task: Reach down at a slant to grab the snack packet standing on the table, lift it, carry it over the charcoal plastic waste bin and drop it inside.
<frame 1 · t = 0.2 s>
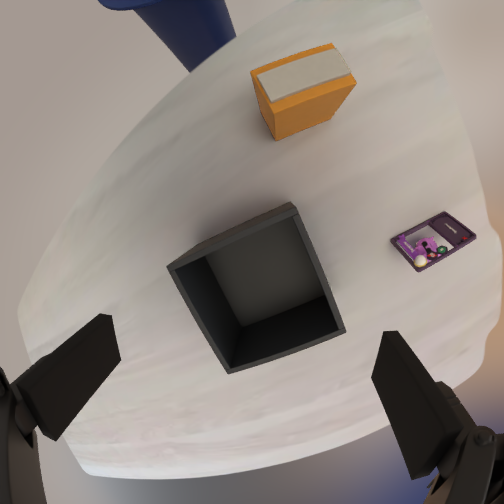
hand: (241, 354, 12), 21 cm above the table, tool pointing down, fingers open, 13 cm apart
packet: (295, 114, 29), on the table
bin: (264, 270, 33), on the table
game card: (423, 241, 31), on the table
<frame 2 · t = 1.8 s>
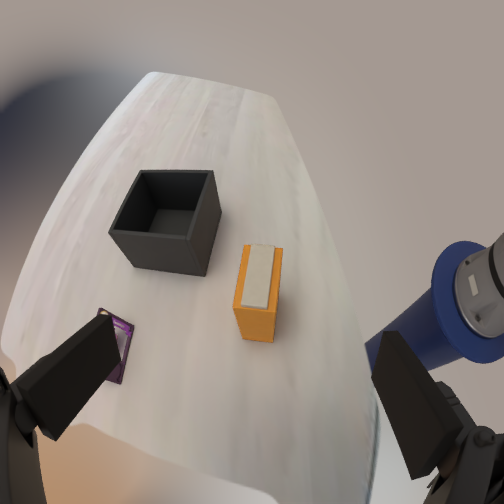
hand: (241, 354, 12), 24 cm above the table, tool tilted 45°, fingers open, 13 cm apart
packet: (261, 316, 37), on the table
bin: (178, 238, 45), on the table
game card: (114, 351, 35), on the table
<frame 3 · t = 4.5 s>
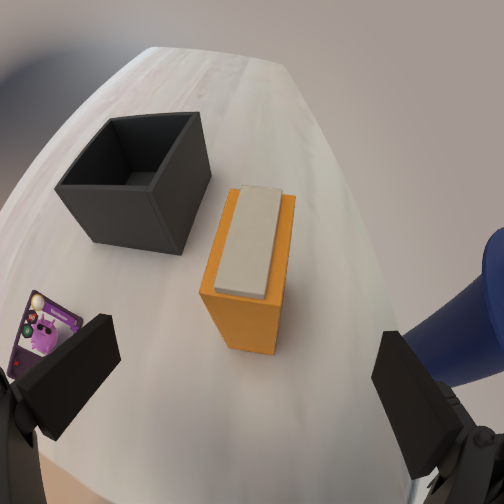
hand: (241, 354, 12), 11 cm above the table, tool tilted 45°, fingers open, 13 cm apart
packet: (257, 314, 25), on the table
bin: (151, 206, 33), on the table
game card: (58, 352, 23), on the table
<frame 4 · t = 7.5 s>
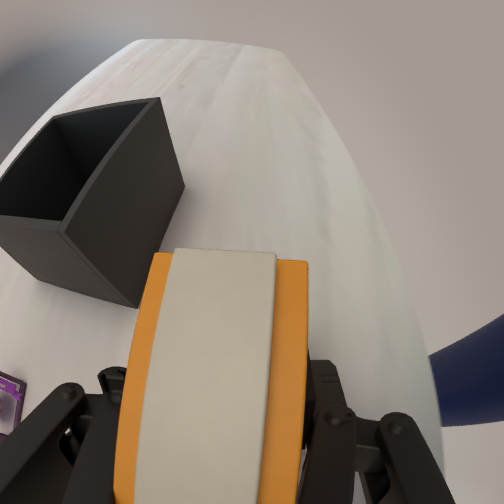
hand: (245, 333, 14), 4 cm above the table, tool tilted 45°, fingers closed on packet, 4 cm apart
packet: (243, 405, 15), on the table, touching gripper
bin: (105, 232, 23), on the table
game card: (6, 416, 13), on the table
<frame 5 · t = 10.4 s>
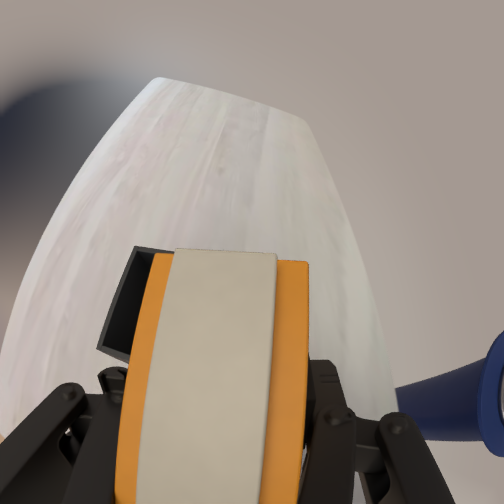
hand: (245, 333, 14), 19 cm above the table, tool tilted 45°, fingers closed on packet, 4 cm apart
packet: (243, 406, 15), point 16 cm above the table, touching gripper
bin: (189, 334, 34), on the table
when the fingers open (14 cm above the table, at t = 13.6 s): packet drops 10 cm, resting on bin.
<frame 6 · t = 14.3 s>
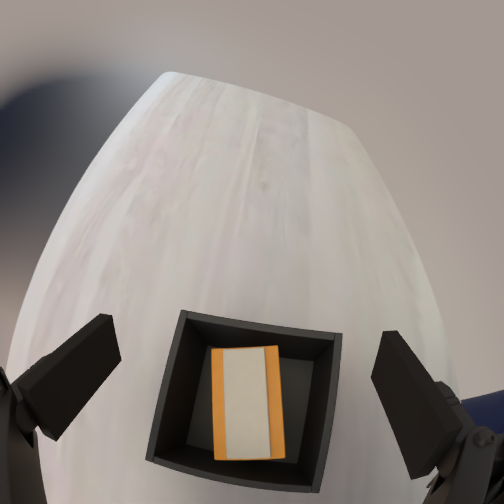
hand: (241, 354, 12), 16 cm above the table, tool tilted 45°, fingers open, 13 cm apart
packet: (257, 405, 24), point 1 cm above the table, touching bin
bin: (250, 406, 25), on the table
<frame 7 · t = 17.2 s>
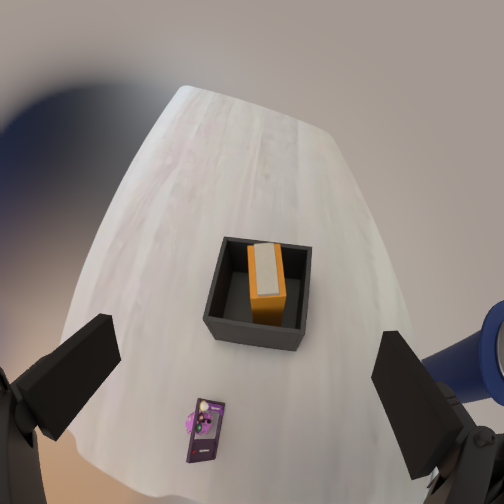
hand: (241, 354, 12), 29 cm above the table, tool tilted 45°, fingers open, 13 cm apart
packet: (265, 306, 43), point 1 cm above the table, touching bin
bin: (261, 308, 43), on the table
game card: (204, 428, 34), on the table
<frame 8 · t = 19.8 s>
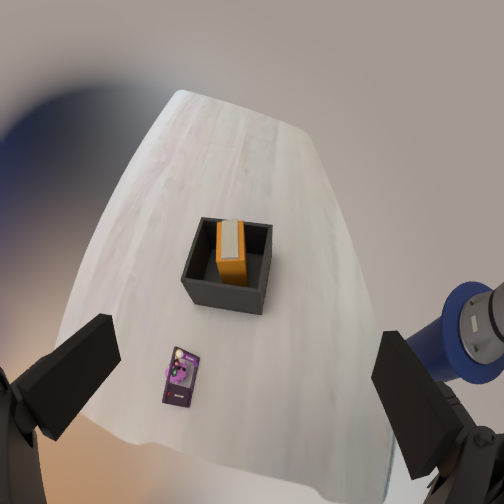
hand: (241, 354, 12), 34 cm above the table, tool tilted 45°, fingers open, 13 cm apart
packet: (237, 277, 51), point 1 cm above the table, touching bin
bin: (234, 279, 52), on the table
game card: (181, 379, 42), on the table
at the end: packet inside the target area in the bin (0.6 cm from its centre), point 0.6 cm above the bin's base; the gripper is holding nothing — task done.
